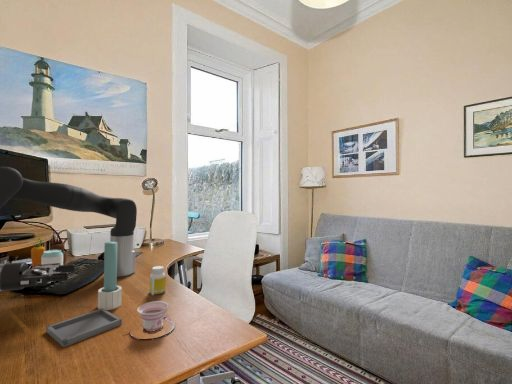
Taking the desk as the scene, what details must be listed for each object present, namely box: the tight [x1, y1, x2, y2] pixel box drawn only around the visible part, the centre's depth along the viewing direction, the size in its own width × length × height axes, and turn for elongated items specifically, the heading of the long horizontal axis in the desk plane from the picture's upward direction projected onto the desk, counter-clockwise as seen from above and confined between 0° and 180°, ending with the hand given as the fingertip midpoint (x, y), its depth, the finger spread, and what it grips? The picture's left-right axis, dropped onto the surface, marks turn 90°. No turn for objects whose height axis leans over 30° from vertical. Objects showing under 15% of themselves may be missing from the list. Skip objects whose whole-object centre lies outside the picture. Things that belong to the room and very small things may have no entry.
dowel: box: [103, 241, 118, 292], centre depth 88 cm, size 4×4×20 cm
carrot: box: [30, 237, 47, 268], centre depth 120 cm, size 5×5×15 cm
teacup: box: [128, 300, 176, 338], centre depth 76 cm, size 12×12×6 cm
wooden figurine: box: [50, 235, 68, 265], centre depth 128 cm, size 7×6×15 cm
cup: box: [97, 285, 123, 311], centre depth 88 cm, size 7×7×6 cm
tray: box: [45, 308, 123, 348], centre depth 74 cm, size 14×11×2 cm
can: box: [41, 249, 63, 270], centre depth 111 cm, size 7×7×12 cm
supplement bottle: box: [149, 265, 167, 296], centre depth 100 cm, size 5×5×10 cm
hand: (71, 271), depth 84 cm, fingers open, 8 cm apart
